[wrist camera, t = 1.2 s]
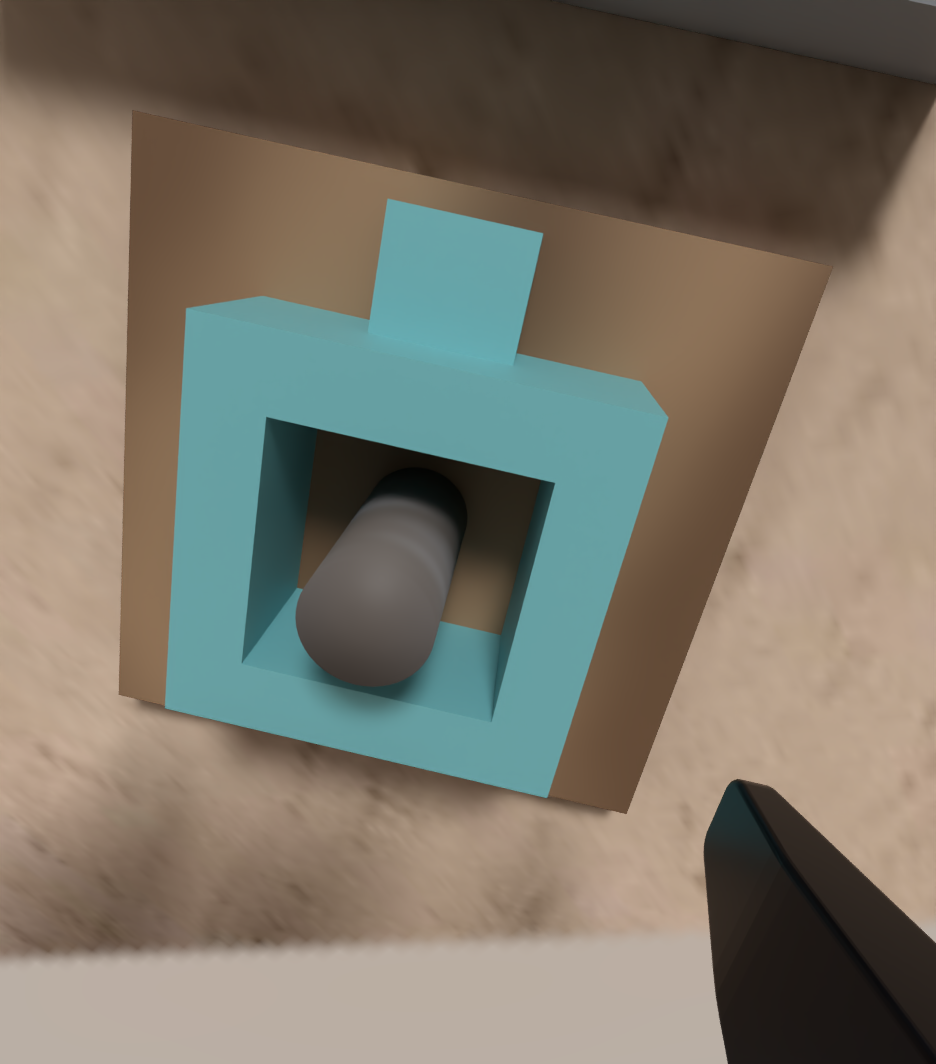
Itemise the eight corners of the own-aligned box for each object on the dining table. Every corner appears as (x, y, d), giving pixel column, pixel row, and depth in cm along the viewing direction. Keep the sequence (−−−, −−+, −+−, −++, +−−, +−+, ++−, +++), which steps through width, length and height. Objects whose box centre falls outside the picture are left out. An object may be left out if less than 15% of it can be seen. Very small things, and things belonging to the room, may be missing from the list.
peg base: (811, 264, 13) (990, 275, 8) (622, 784, 17) (655, 1005, 12) (162, 120, 13) (-85, 36, 8) (141, 671, 18) (-25, 843, 12)
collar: (676, 264, 12) (716, 269, 9) (546, 699, 16) (546, 798, 13) (274, 174, 12) (194, 152, 9) (232, 626, 16) (164, 708, 13)
